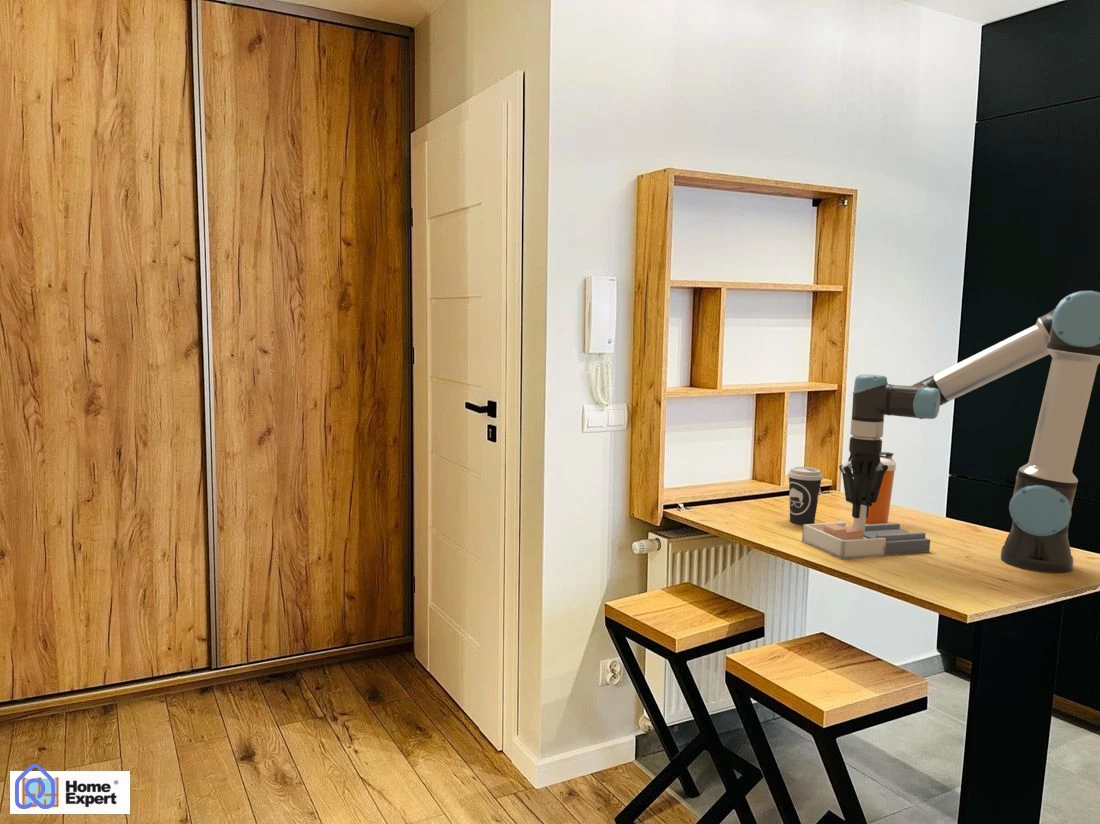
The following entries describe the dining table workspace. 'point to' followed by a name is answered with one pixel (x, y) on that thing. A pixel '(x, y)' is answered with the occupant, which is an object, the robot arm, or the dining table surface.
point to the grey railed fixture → (897, 538)
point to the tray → (842, 543)
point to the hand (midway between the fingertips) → (858, 530)
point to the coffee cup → (803, 494)
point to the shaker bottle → (883, 493)
